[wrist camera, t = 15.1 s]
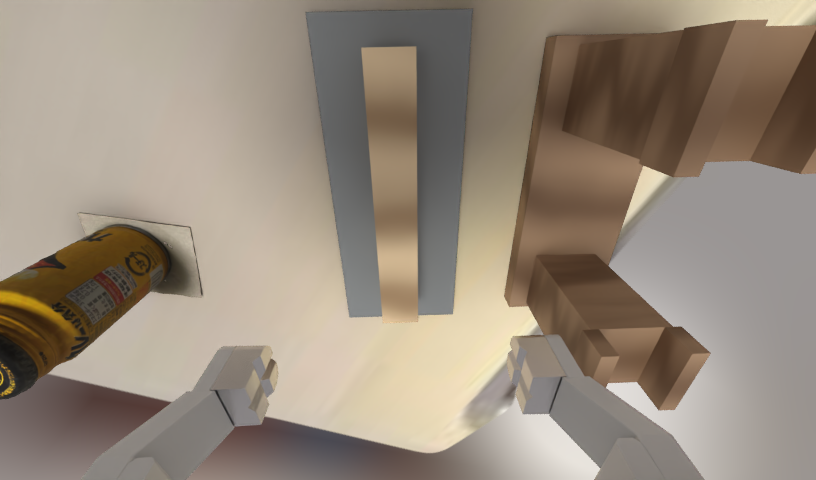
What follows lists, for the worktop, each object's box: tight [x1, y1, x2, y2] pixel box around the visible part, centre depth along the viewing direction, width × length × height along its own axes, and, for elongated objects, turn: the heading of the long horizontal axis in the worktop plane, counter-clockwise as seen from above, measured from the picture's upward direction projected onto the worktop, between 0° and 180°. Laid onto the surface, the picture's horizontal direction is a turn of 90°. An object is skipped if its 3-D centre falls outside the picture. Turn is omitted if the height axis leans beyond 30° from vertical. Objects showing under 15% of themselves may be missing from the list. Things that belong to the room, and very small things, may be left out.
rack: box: [504, 20, 816, 410], centre depth 20 cm, size 21×8×12 cm, turn 1°
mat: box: [306, 9, 473, 317], centre depth 25 cm, size 24×10×1 cm, turn 1°
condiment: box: [0, 213, 201, 399], centre depth 22 cm, size 7×8×12 cm
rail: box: [361, 46, 418, 323], centre depth 23 cm, size 20×3×3 cm, turn 1°
